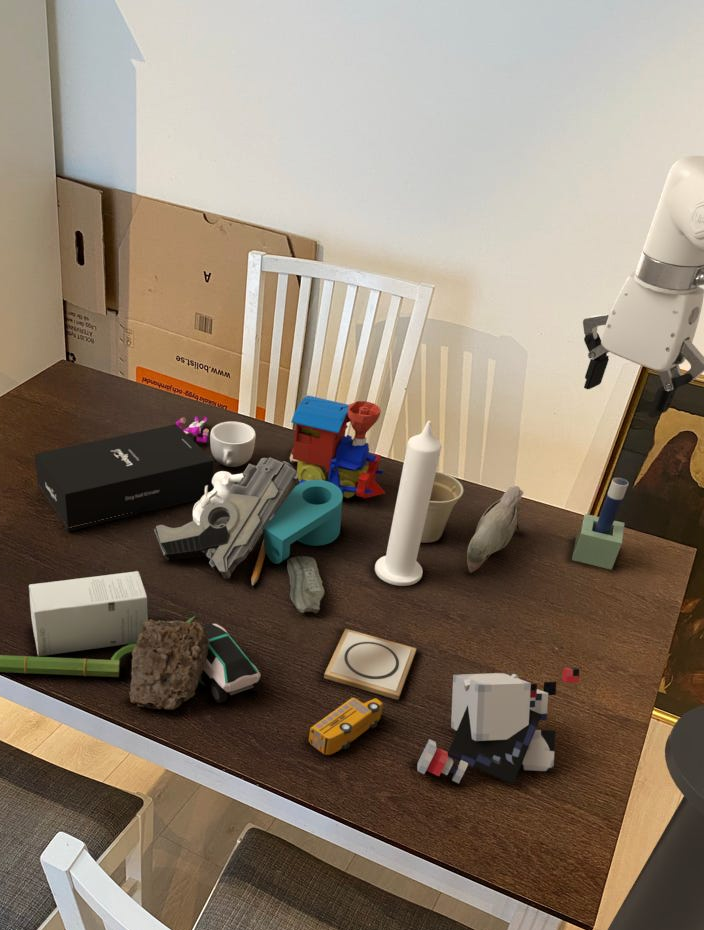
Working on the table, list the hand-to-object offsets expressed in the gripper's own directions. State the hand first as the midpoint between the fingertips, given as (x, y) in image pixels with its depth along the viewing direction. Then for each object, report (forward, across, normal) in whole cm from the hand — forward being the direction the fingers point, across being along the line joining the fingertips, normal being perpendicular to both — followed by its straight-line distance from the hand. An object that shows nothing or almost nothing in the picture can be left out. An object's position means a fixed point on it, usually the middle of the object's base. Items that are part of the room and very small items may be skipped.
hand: (623, 400), depth 125 cm
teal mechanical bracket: (+25, +26, +28) cm, 45 cm away
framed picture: (+28, +3, +40) cm, 49 cm away
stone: (+27, +18, +34) cm, 47 cm away
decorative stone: (+28, +47, +7) cm, 55 cm away
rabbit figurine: (+28, +40, +35) cm, 60 cm away
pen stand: (+28, -1, -6) cm, 29 cm away
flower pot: (+28, +19, +11) cm, 36 cm away
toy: (+22, -10, +42) cm, 49 cm away
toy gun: (+21, +43, +40) cm, 63 cm away
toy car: (+28, +14, +57) cm, 65 cm away
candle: (+28, +15, +22) cm, 38 cm away
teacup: (+28, +53, +22) cm, 64 cm away
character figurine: (+28, +63, +22) cm, 73 cm away
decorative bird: (+28, +10, +6) cm, 30 cm away
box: (+28, +56, +42) cm, 75 cm away
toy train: (+28, +36, +12) cm, 48 cm away
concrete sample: (+22, +15, +66) cm, 71 cm away
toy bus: (+26, -5, +52) cm, 58 cm away
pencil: (+27, +36, +27) cm, 53 cm away
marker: (+28, -1, -6) cm, 29 cm away
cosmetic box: (+24, +27, +59) cm, 70 cm away
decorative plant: (+25, +36, +81) cm, 92 cm away
